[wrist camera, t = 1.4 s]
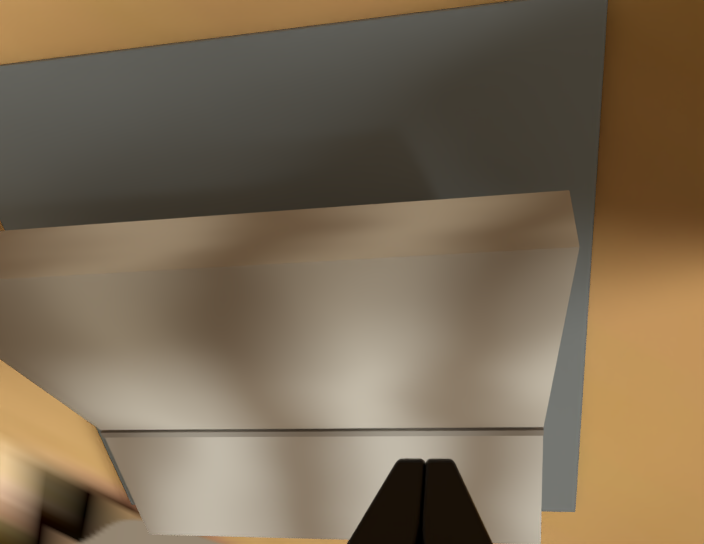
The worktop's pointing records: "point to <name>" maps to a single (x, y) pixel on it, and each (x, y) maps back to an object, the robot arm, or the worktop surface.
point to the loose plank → (298, 315)
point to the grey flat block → (319, 477)
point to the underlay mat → (327, 137)
